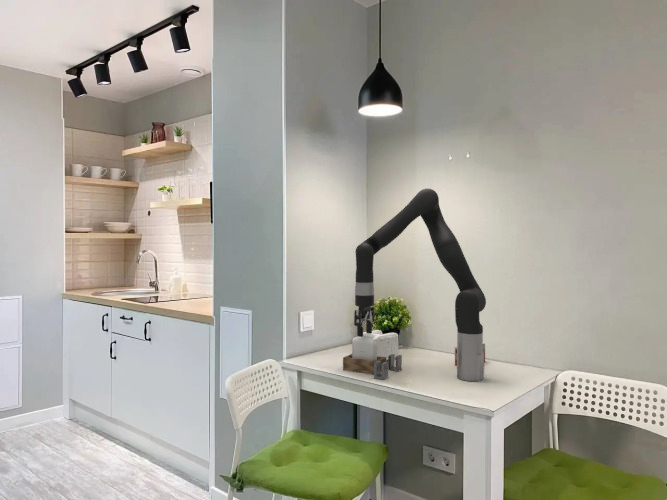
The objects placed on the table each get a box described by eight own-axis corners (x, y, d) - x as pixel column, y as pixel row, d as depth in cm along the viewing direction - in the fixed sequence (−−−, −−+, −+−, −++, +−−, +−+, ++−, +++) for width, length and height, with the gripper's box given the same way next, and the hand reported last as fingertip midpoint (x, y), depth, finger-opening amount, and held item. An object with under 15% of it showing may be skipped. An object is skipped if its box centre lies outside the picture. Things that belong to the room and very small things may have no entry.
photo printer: (350, 366, 211) (350, 335, 210) (355, 364, 214) (355, 334, 214) (374, 370, 206) (374, 338, 206) (378, 367, 210) (378, 336, 209)
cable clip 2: (401, 369, 211) (401, 354, 211) (397, 371, 208) (397, 356, 208) (392, 368, 213) (392, 353, 213) (388, 370, 210) (388, 355, 210)
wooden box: (386, 369, 211) (386, 357, 211) (376, 374, 203) (377, 361, 203) (352, 365, 218) (353, 353, 217) (342, 370, 210) (343, 357, 210)
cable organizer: (380, 354, 238) (380, 329, 238) (399, 358, 230) (399, 332, 230) (357, 360, 227) (358, 333, 227) (376, 364, 220) (376, 336, 220)
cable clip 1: (388, 377, 199) (388, 362, 199) (383, 379, 195) (384, 364, 195) (378, 376, 201) (378, 360, 201) (373, 378, 197) (374, 362, 197)
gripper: (365, 295, 201) (366, 338, 201) (380, 292, 214) (380, 332, 214) (348, 295, 205) (348, 337, 205) (363, 292, 217) (363, 331, 217)
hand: (364, 334), depth 209 cm, fingers open, 8 cm apart
